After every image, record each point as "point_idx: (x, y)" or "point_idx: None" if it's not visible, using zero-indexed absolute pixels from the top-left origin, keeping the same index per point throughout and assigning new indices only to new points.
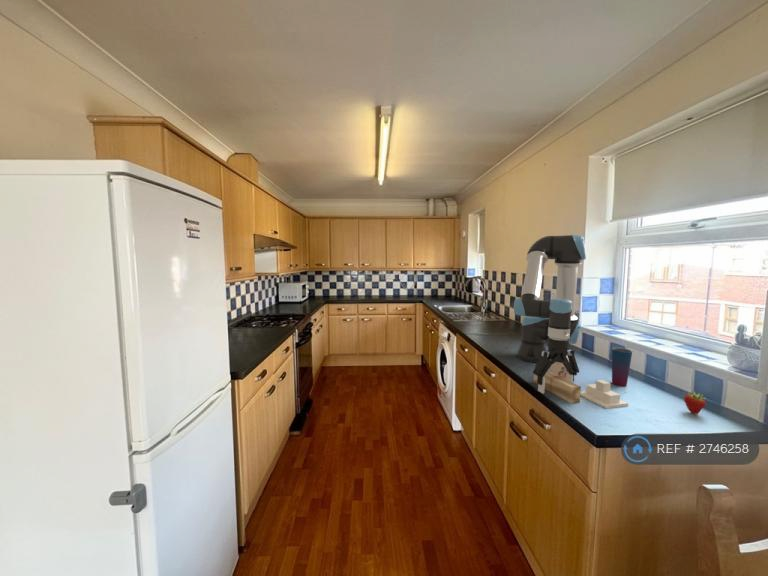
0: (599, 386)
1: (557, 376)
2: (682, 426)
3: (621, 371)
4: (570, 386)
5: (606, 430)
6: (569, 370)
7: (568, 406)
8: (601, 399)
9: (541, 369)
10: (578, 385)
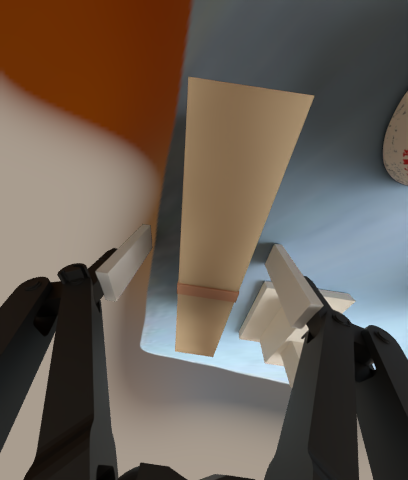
0: (291, 360)
1: (220, 294)
2: (283, 375)
3: None
4: (177, 348)
5: (162, 351)
6: (307, 350)
7: (165, 306)
8: (267, 328)
9: (38, 353)
10: (214, 352)
